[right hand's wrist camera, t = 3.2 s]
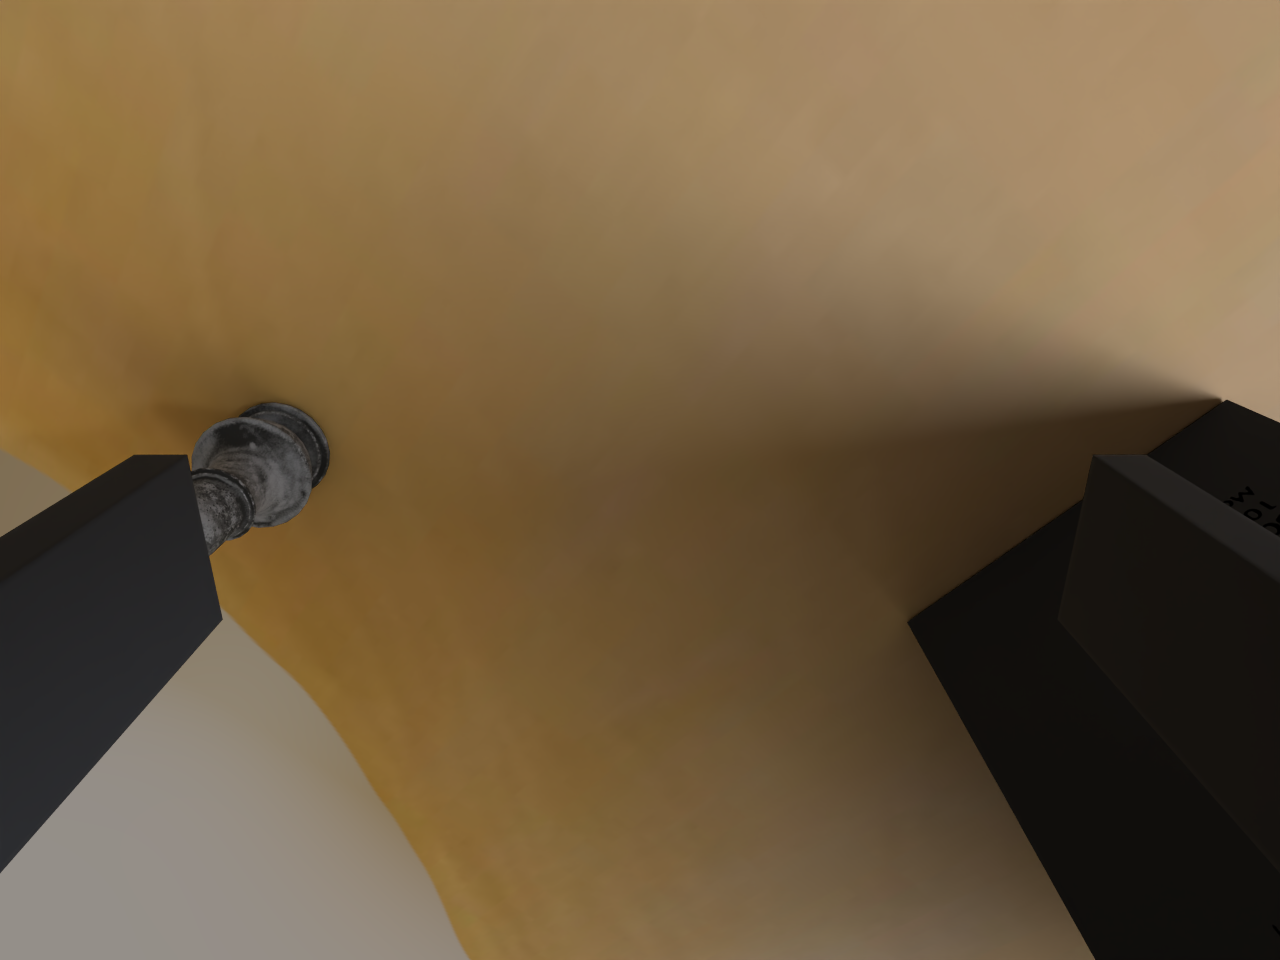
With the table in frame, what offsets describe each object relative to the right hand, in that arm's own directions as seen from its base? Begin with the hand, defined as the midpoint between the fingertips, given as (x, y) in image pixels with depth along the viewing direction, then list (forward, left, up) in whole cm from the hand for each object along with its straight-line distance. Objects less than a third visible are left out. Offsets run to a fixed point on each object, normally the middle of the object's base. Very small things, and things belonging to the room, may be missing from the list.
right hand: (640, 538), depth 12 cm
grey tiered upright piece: (+10, -19, -31) cm, 38 cm away
